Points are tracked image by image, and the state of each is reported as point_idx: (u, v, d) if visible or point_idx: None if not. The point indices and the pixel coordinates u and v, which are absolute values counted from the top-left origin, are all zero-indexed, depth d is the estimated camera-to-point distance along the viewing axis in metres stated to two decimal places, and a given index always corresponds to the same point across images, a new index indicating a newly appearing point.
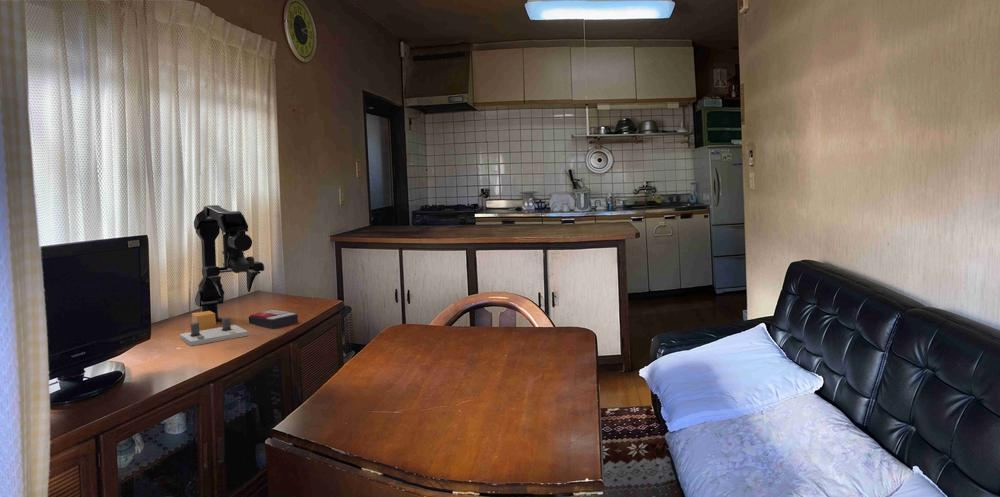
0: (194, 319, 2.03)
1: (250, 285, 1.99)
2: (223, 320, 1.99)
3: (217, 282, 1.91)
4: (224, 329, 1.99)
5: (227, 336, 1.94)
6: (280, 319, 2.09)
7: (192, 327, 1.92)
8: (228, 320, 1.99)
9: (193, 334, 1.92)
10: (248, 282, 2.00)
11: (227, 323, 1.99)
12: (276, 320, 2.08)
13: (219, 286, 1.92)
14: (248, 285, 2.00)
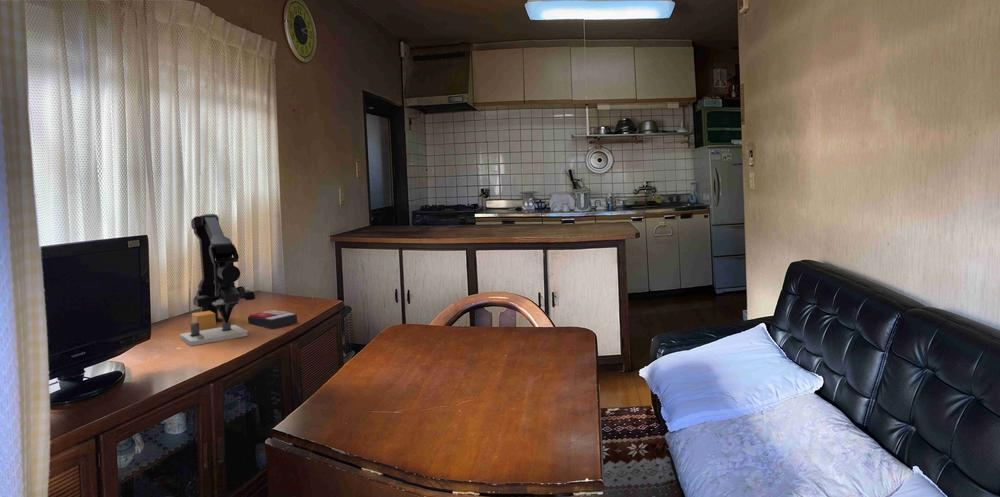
0: (194, 319, 2.03)
1: (228, 316, 1.99)
2: (223, 324, 1.99)
3: (222, 310, 1.97)
4: None
5: (227, 336, 1.94)
6: (279, 319, 2.09)
7: (192, 327, 1.92)
8: (228, 324, 1.99)
9: (193, 334, 1.92)
10: (226, 312, 2.00)
11: (227, 327, 1.99)
12: (275, 320, 2.08)
13: (224, 313, 1.98)
14: (226, 315, 2.00)
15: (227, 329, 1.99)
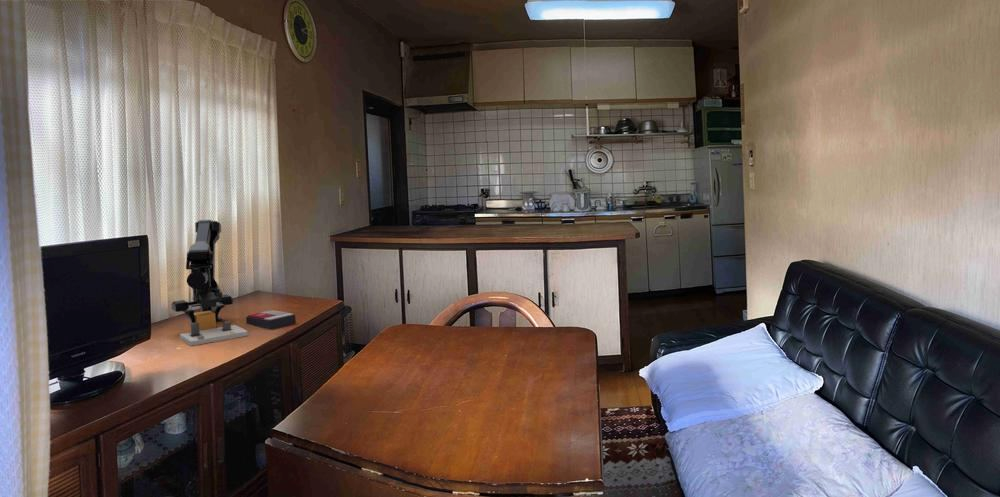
0: None
1: None
2: (223, 324, 1.99)
3: (191, 316, 2.01)
4: None
5: (227, 336, 1.94)
6: (278, 319, 2.09)
7: (192, 327, 1.92)
8: (228, 324, 1.99)
9: (193, 334, 1.92)
10: None
11: (227, 327, 1.99)
12: (274, 320, 2.07)
13: (193, 319, 2.02)
14: None
15: (227, 329, 1.99)
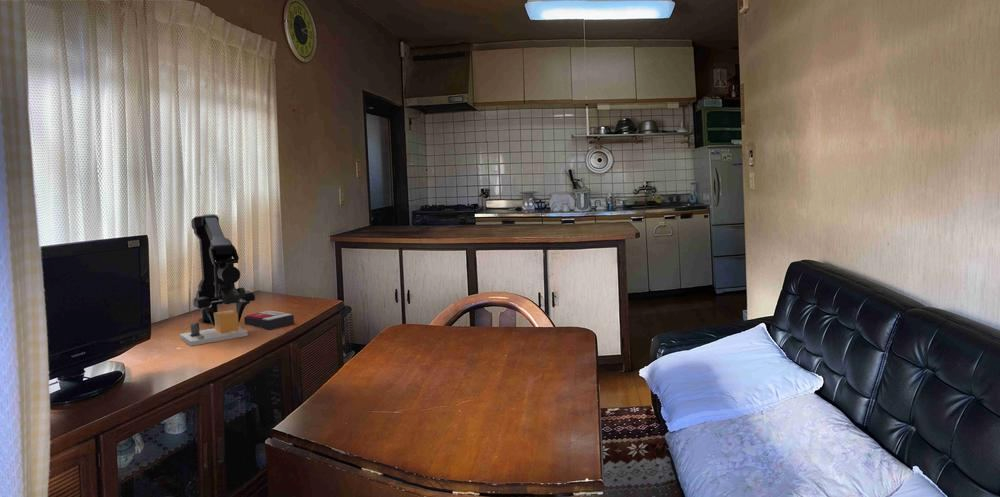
0: (216, 319, 1.98)
1: (240, 315, 2.02)
2: None
3: (210, 313, 1.95)
4: None
5: (227, 336, 1.94)
6: (276, 320, 2.08)
7: (192, 327, 1.92)
8: None
9: (193, 334, 1.92)
10: (238, 312, 2.02)
11: None
12: (272, 321, 2.07)
13: (212, 316, 1.95)
14: (238, 315, 2.02)
15: None
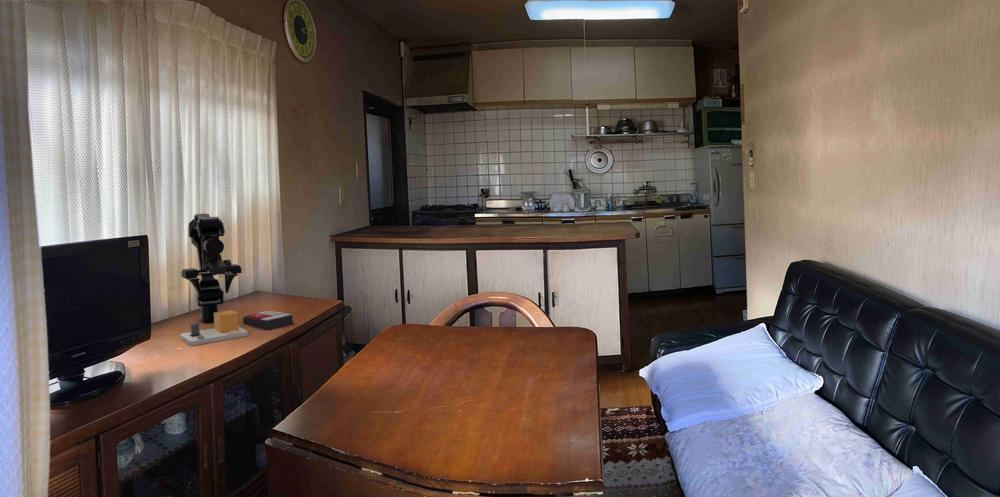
0: (216, 319, 1.98)
1: (228, 287, 2.10)
2: None
3: (196, 284, 2.02)
4: None
5: (227, 336, 1.94)
6: (275, 320, 2.08)
7: (192, 327, 1.92)
8: None
9: (193, 334, 1.92)
10: (226, 284, 2.10)
11: None
12: (271, 321, 2.07)
13: (198, 288, 2.03)
14: (226, 287, 2.10)
15: None
